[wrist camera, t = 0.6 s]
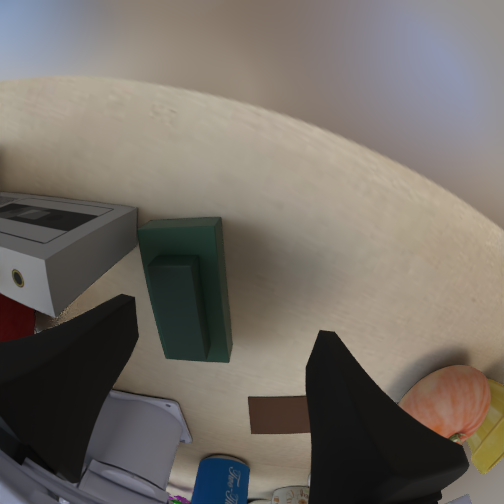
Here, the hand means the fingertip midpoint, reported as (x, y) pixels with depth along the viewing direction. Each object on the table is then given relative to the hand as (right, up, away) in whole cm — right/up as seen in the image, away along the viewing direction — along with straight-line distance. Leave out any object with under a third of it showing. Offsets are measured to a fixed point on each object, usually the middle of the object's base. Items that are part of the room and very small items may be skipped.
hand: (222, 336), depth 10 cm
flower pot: (+29, -15, +12) cm, 35 cm away
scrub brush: (-3, +1, +8) cm, 9 cm away
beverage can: (-2, -24, +18) cm, 30 cm away
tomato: (+19, -11, +11) cm, 25 cm away
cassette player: (-14, +6, +7) cm, 17 cm away
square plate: (+4, -13, +13) cm, 19 cm away
